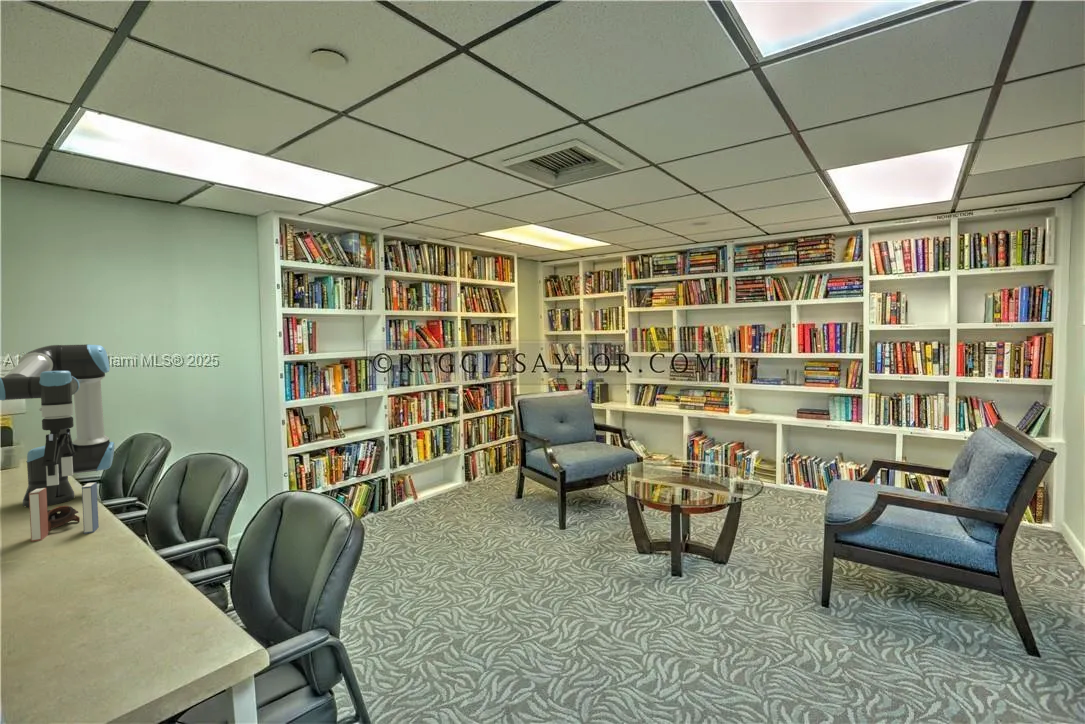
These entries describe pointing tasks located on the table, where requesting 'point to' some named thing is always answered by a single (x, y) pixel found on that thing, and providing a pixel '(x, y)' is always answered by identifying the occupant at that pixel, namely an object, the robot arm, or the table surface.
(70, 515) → the pottery mug
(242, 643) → the table surface
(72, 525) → the table surface
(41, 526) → the brick red book
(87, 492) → the navy book
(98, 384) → the robot arm
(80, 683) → the table surface
